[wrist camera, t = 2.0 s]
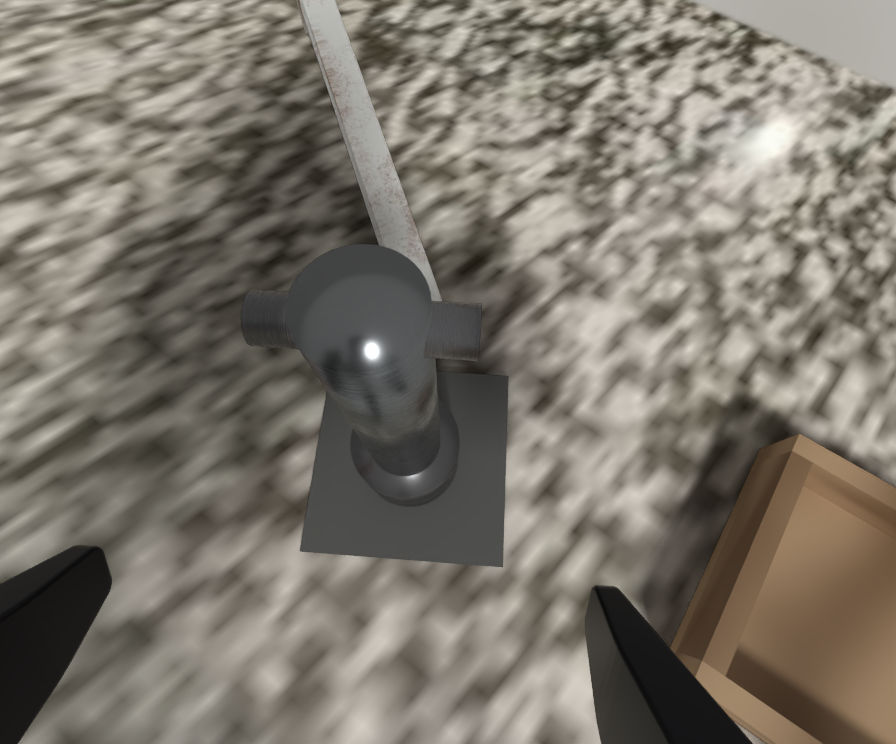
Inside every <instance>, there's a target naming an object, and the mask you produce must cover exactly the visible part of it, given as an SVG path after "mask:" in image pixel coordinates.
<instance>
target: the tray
mask: <svg viewBox="0 0 896 744" xmlns="http://www.w3.org/2000/svg"><path fill="white" fill-rule="evenodd" d="M670 649H671V650H672V651H673V652H674V653H675V654H676V655H677V657H678V658H679V659H680V660H681V661H682V662H683V664H684V665H685V666H686V667H687V668H688V669H689V670H690V672H691V673H692V674H693V675H694V676H695V677H696V679H697V680H698V681H699V682H700V683H701V684H702V685H703V687H704V688H705V689H706V690H707V691H708V692H709V694H710V695H711V696H712V697H713V698H714V699H715V700H716V702H717V703H718V704H719V705H720V706H721V707H722V709H723V710H724V711H725V712H726V713H727V714H728V715H729V717H730V718H731V719H732V720H733V721H735V722H736V723H737V724H739V725H740V726H742V727H743V728H745V729H746V730H747V731H749V732H750V733H752V734H753V735H755V736H756V737H757V738H759V739H760V740H762V741H763V742H764V743H766V744H896V488H895V487H893V486H892V485H890V484H888V483H886V482H885V481H883V480H881V479H879V478H877V477H876V476H874V475H872V474H870V473H869V472H867V471H865V470H863V469H861V468H860V467H858V466H856V465H854V464H853V463H851V462H849V461H847V460H845V459H844V458H842V457H840V456H838V455H836V454H835V453H833V452H831V451H829V450H828V449H826V448H824V447H822V446H820V445H819V444H817V443H815V442H813V441H812V440H810V439H808V438H806V437H804V436H803V435H801V434H797V435H795V436H792V437H789V438H787V439H784V440H782V441H779V442H776V443H774V444H771V445H769V446H766V447H763V448H761V449H760V450H759V452H758V454H757V456H756V459H755V461H754V463H753V465H752V467H751V470H750V472H749V474H748V476H747V478H746V481H745V483H744V485H743V487H742V489H741V492H740V494H739V496H738V498H737V501H736V503H735V505H734V507H733V509H732V512H731V514H730V516H729V518H728V520H727V523H726V525H725V527H724V529H723V531H722V534H721V536H720V538H719V540H718V542H717V545H716V547H715V549H714V551H713V554H712V556H711V558H710V560H709V562H708V565H707V567H706V569H705V571H704V573H703V576H702V578H701V580H700V582H699V584H698V587H697V589H696V591H695V593H694V595H693V598H692V600H691V602H690V604H689V607H688V609H687V611H686V613H685V615H684V618H683V620H682V622H681V624H680V626H679V629H678V631H677V633H676V635H675V637H674V640H673V642H672V644H671V646H670Z"/></svg>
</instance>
